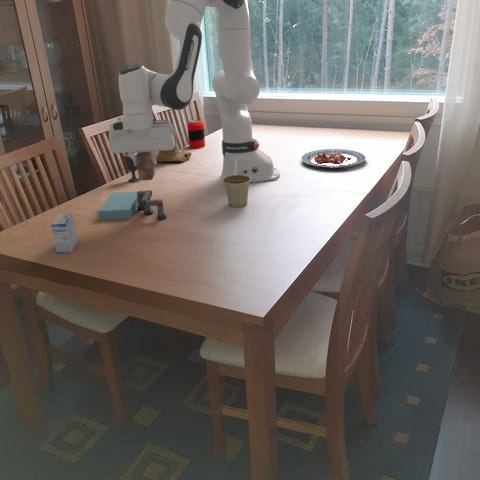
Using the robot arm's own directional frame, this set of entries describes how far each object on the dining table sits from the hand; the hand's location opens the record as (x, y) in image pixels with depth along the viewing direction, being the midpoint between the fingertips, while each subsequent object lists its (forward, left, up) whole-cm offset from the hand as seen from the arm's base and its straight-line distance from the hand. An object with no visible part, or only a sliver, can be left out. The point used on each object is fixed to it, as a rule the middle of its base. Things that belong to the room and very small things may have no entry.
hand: (145, 164), depth 163 cm
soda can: (-8, -81, -16) cm, 83 cm away
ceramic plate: (-67, -47, -16) cm, 83 cm away
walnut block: (0, 0, -4) cm, 4 cm away
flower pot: (-29, -3, -16) cm, 33 cm away
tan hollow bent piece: (+1, -58, -16) cm, 60 cm away
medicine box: (+19, +26, -16) cm, 36 cm away
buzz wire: (-1, +3, -16) cm, 16 cm away
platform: (+10, -2, -16) cm, 19 cm away
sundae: (+12, -33, -16) cm, 38 cm away
